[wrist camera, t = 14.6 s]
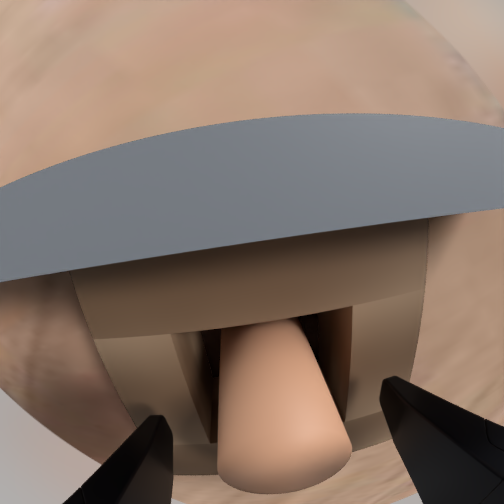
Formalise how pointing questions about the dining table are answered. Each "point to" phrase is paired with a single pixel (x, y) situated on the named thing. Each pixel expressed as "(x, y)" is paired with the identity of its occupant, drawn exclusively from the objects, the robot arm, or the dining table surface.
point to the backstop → (246, 187)
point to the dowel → (275, 411)
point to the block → (256, 311)
